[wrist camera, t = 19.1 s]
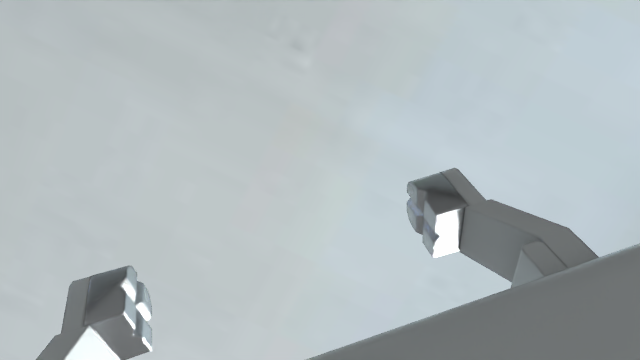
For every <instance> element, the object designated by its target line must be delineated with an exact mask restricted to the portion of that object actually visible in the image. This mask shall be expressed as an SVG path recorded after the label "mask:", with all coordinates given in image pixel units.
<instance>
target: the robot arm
mask: <svg viewBox="0 0 640 360" xmlns="http://www.w3.org/2000/svg"><path fill="white" fill-rule="evenodd" d="M407 193H408V194H409V196H410V197H411V198H410V199H409V200H408V202H407V213H408V217H409V220H410V223H411V225H412V227H413V228H414V230H415V231H416V232H417V233H419V234H422V235H423V244H424V245H425V247H426V248H427V250H428V251H429V253H430V254H431V256H432V257H433V258H436V257H439V256H443V255H446V254H449V253H453V252H456V251H459V250H460V251H459V252H461V253H462V254H464V255H466V256H467V257H469V258H471V259H473V260H474V261H476V262H478V263H479V264H481V265H483V266H485V267H486V268H488V269H490V270H491V271H493V272H495V273H497V274H498V275H500V276H502V277H503V278H505V279H507V280H509V281H510V282H512V285H511V288H510V289H507V290H504V291H502V292H499V293H496V294H493V295H490V296H487V297H484V298H481V299H478V300H476V301H473V302H470V303H467V304H464V305H461V306H458V307H455V308H453V309H450V310H447V311H444V312H441V313H438V314H435V315H433V316H430V317H427V318H424V319H421V320H418V321H415V322H412V323H410V324H407V325H404V326H401V327H398V328H395V329H392V330H390V331H387V332H384V333H381V334H378V335H375V336H372V337H370V338H367V339H364V340H361V341H358V342H355V343H352V344H350V345H347V346H344V347H341V348H338V349H335V350H332V351H329V352H326V353H324V354H321V355H318V356H315V357H312V358H309V359H306V360H640V243H639V244H637V245H634V246H631V247H628V248H625V249H622V250H619V251H617V252H614V253H611V254H608V255H605V256H602V257H598V256H597V255H596V254H595V253H594V252H593V251H592V250H591V249H590V248H589V247H588V246H587V245H586V244H585V243H584V242H583V241H582V240H581V239H580V238H579V237H577V236H576V235H575V234H574V233H573V232H572V231H571V230H570V229H569V228H567V227H564V226H561V225H559V224H556V223H553V222H551V221H548V220H545V219H543V218H540V217H537V216H534V215H532V214H529V213H526V212H524V211H521V210H518V209H516V208H513V207H510V206H508V205H505V204H502V203H499V202H497V201H494V200H487V201H486V199H485V198H484V197H483V196H482V195H481V194H480V193H479V192H478V191H477V190H476V188H475V187H474V186H473V185H472V184H471V183H470V182H469V181H468V180H467V179H466V177H465V176H464V175H463V174H462V173H461V172H460V171H459V170H458V169H456V168H452V169H449V170H446V171H443V172H440V173H436V174H433V175H430V176H427V177H423V178H420V179H417V180H414V181H410V182H408V185H407ZM151 316H152V306H151V301H150V296H149V293H148V291H147V289H146V287H145V285H144V284H143V283H141V282H139V281H137V272H136V271H135V270H134V268H133V267H132V266H125V267H122V268H118V269H114V270H111V271H107V272H104V273H100V274H96V275H93V276H90V277H87V278H83V279H79V280H76V281H73V282H72V283H71V285H70V286H69V291H68V296H67V302H66V307H65V313H64V319H63V324H62V330H61V334H59V335H56V336H54V338H53V339H52V340H51V341H50V343H49V344H48V345H47V346H46V348H45V349H44V350H43V351H42V353H41V354H40V355H39V356H38V358H37V359H36V360H126V359H129V358H132V357H135V356H138V355H140V354H143V353H146V352H149V351H152V329H151V327H150V326H149V324H148V323H147V322H148V320H149V319H150V317H151Z"/></svg>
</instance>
